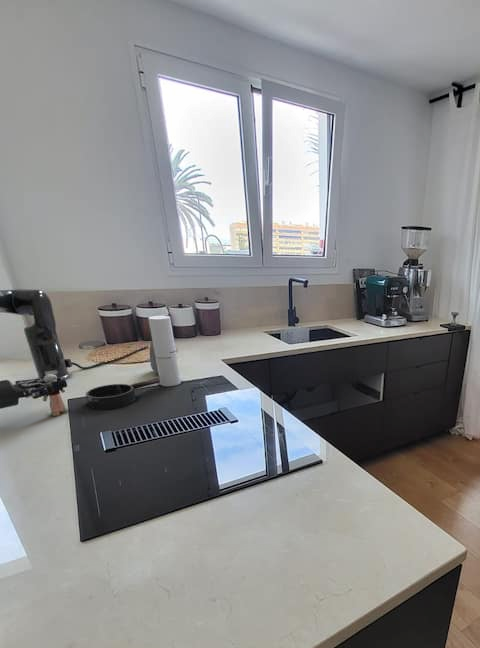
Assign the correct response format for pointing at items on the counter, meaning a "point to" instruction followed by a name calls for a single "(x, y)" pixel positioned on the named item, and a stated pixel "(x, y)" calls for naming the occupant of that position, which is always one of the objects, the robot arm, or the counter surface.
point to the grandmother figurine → (55, 397)
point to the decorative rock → (153, 359)
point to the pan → (110, 396)
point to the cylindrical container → (164, 350)
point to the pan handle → (145, 383)
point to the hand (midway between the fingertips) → (63, 381)
